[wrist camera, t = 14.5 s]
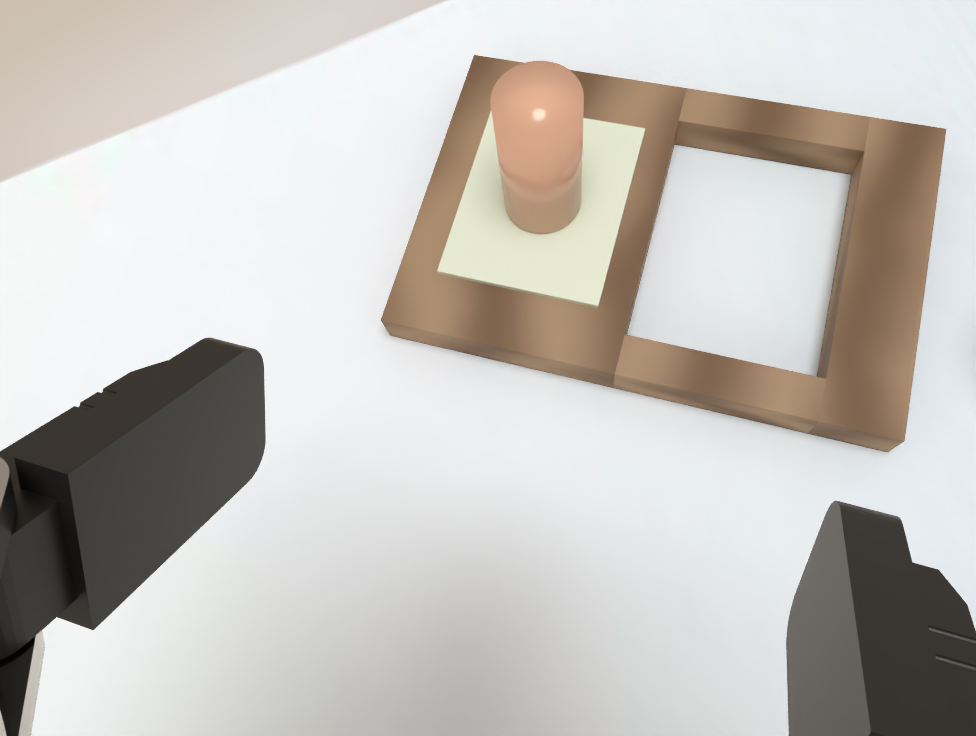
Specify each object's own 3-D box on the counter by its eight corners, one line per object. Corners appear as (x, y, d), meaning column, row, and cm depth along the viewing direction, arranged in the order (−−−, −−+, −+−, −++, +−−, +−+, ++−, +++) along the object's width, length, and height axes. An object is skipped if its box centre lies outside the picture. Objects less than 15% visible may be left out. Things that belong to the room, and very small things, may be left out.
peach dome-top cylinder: (591, 178, 40) (596, 72, 33) (567, 242, 38) (566, 146, 31) (519, 159, 40) (508, 52, 33) (493, 222, 39) (477, 124, 32)
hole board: (929, 153, 40) (948, 125, 38) (887, 452, 36) (907, 439, 34) (478, 79, 45) (473, 51, 43) (390, 335, 41) (379, 317, 38)
